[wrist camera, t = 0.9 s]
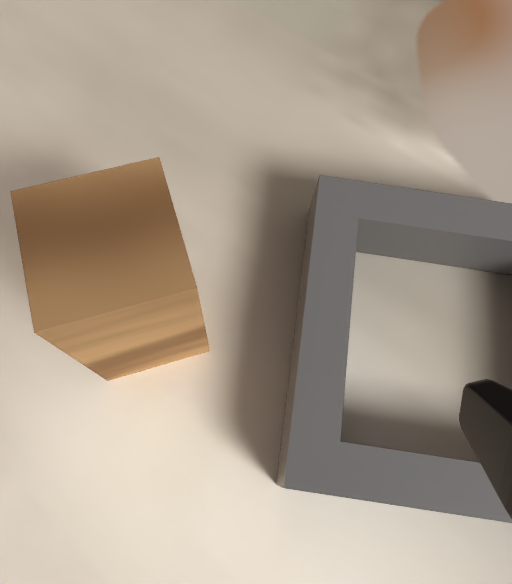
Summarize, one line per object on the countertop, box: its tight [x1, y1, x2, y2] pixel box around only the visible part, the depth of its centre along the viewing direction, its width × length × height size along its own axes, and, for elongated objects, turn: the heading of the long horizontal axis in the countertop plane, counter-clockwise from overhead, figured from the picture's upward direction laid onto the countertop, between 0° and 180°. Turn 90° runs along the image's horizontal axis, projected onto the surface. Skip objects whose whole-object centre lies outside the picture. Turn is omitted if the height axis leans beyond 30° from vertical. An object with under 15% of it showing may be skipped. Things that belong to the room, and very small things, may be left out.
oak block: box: [11, 157, 210, 381], centre depth 20 cm, size 5×5×9 cm
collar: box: [276, 175, 512, 523], centre depth 22 cm, size 14×14×4 cm
